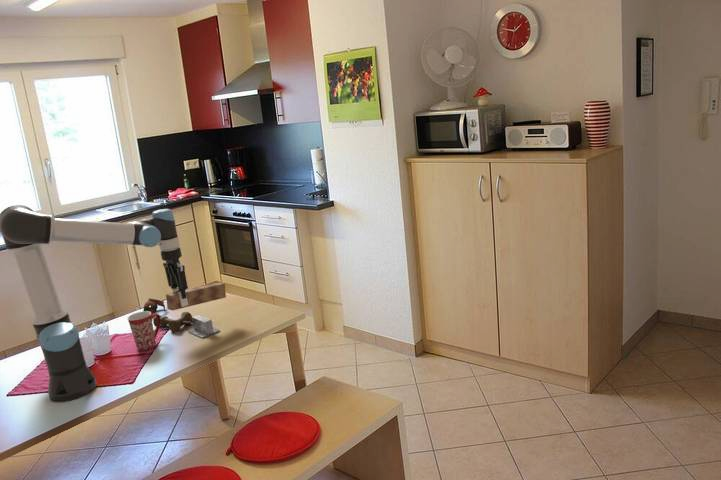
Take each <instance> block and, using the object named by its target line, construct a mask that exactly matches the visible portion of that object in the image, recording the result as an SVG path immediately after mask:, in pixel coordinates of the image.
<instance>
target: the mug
mask: <svg viewBox="0 0 721 480" xmlns="http://www.w3.org/2000/svg"><path fill="white" fill-rule="evenodd" d="M159 315H160V314H159V313H157V312H156V313H154V314H151V312H149V311H143V310H142V311H138V312H136V313H132V314H130V315H129V316H128V317H127V318H126V319H127V321H128V323H129V326H130V331H131V333H132V336H133V337H132V338H133V339H134V343H135V345H136V347H135V348H136V349H137V351H141V350H142V351H147V350H151V349H152V348H154V347H155V346H156V345H157V341H156V338H157V335H158V333H159V330H160V327H161V326H160V324H161V318H160V316H161V315H160V316H159ZM156 316H157V319H158V322H157V327H155V329H154V327H153V326H154V323H153V320H154V318H155V317H156Z"/></svg>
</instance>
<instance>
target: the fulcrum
mask: <svg viewBox="0 0 721 480" xmlns="http://www.w3.org/2000/svg"><path fill="white" fill-rule="evenodd" d="M191 318H192V326H193V328H191V329H190V330H187V333H188V334H191V335H194V336H196V337H198V338H200V339H206V338H208V337H210V336H212V335H216V334H217V333H220V332H221V331H220V329H217V328H215V327H214V326H213V322H212V319H211V318H208V317H205V316H202V315H200V314H195V315H192V317H191Z"/></svg>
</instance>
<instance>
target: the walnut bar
mask: <svg viewBox="0 0 721 480" xmlns="http://www.w3.org/2000/svg"><path fill="white" fill-rule="evenodd" d="M185 291H186V296H187V301H188V305H187V306H184V307H181V303H180V298H179V294H178V292H173V291H172V292H169V293H166V295H165V297H166V307H167V308H166V309H168V310H170V311H171V312H172V311H177V310H180V309H185V308H188V307H193V306H197V305H201V304H205V303H209V302H213V301H218V300H222V299H225V298H227V294H226V284H225V283H224V282H220V281H219V282H215V283H211V284H206V285H200V286H197V287H193V288H192V287H191V288H188V289H186V290H185Z"/></svg>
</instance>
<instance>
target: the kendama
mask: <svg viewBox="0 0 721 480" xmlns="http://www.w3.org/2000/svg"><path fill="white" fill-rule="evenodd" d="M158 315H159V316H160V318H161V324H160V327H161V326H162V327H164V328H165V327H167V326H168V328H169V330H170V331H171V332H172V333H178V332H179V331H180V329H181V328H182V327H183V326H185V325H186V326H187V325H189V326H190V325H193V323H192V318H191V317H193V315H192V314H191V312H189V311H183V312H182V313H181V315H180V317H179V318H177V319H172V318H169V316H166V315H165V316H162V315H160V314H158ZM157 322H158V319H157V316H154V317H153V320H152V324H153V326H154V327H155V328H156V327H157Z"/></svg>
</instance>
